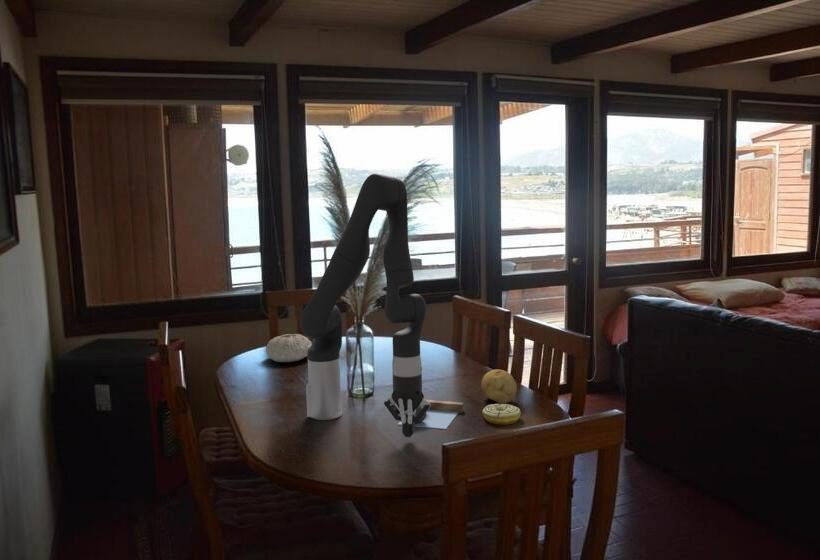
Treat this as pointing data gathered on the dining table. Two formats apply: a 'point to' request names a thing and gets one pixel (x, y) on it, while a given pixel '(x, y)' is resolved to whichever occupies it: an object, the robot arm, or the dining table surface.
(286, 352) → the decorative shell
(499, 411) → the decorated donut
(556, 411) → the dining table surface
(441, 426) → the light blue square plate
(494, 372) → the potato
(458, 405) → the oak rail
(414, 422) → the dark gray ball
